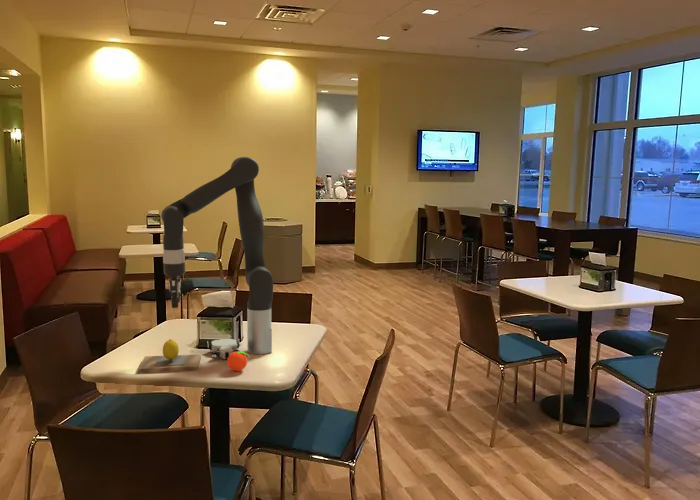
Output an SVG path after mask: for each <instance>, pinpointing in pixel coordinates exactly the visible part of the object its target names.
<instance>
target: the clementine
mask: <svg viewBox="0 0 700 500" xmlns="http://www.w3.org/2000/svg"><path fill="white" fill-rule="evenodd" d="M246 355H247V356H248V358H249V359H251V358H250V356H249V354H248V353H246V352H245V351H241V350H239V351H235V352H233V353H231V354H230V355H229V357H228V359H227V361H226V363H227V367H228V368H229V369H230V370H232V371H233V372H241V371H243V370H244V369H245V368H246V367H247V365H248V358H247V356H246Z"/></svg>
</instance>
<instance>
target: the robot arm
mask: <svg viewBox="0 0 700 500" xmlns="http://www.w3.org/2000/svg"><path fill="white" fill-rule="evenodd" d="M259 171H260V167H259V164H258V162H257V161H256V160H255V159H253V158H252V157H249V156H241V157H237V158H235V159H234V160H233V161H232V163H231V165H230V169H228V170H227V171H226V172H224V173H223V174H221V175H220V176H218V177H216V178H214V179H213V180H210V181H208V182H206V183H205V184H203V185H201V186H199V187H197V188H196V189H194V190H191V192H189V193H188V194H186V195H185V196H184V197H182V198H180V199H178V200H176V201H174V202H172V203H170V204H169V205H167V206H166V207H164V209H162V211H161V215H160V217H161V220H162V222H163V233H164V234H163V238H162V243H163V244H162V245H163V253H162V263H163V265H162V266H163V275H165V276H170V278H169V279H168V285H169V290H168V291H169V297H170V299H171V301H170V302H171V308H173V309H178V308H179V303H180V302H181V298H180V297H181V296H180V292H181V288H182V286H181V285H182V284H181V283H182V278H180V276H183V275H185V274H186V256H185V248H184V247H185V246H184V219H185V218H187V217H188V216H190V215H192V214H195V213H197V212H200V211H201V210H202V209H203V208H205V207H207V206H208V205H210V204H211V203H213V202H214V201H216V200H217V199H219V198H221V197H222V196H223V195H225V194H226V193H228V192H230V191H231V190H233V189H234V190H235V195H236V207H237V219H238V227H239V234H240V239H241V244H242V249H243V254H244V265H245V266H244V267H245V270H244V271H245V273H244V276H245V281H246V284H247V285H248V286H249V288H248V301H247V303H246V304H247V305H246V307H247V311H246V313H247V320H246V322H247V329H246V330H247V346H246V347H247V353H249V354H252V355H265V354H269V353H273V351H272V350H273V344H272V343H273V339H272V338H273V337H272V336H273V333H272V330H273V329H272V303H273V299H274V278H273V274H272V272H271V271H270V270H269V269H267V267H266V261H265V258H264V256H265V255H264V243H265V224H264V216H263V212H262V209H261V206H260V204H259V201H258V198H257V195H256V190H255V179H256V178H257V177H258V175H259Z"/></svg>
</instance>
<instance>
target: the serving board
mask: <svg viewBox="0 0 700 500" xmlns="http://www.w3.org/2000/svg"><path fill="white" fill-rule="evenodd" d="M201 355H202V354H201V353H200V354H198V353H195V354H178V355H177V357H176V358H174V359H173V360H172V361H170V360H169V359H166V358H165V357H164V355H150V356H149V355H148V356H147V355H145V356H144V357H143V359H142V362H141V364H140V366H139V368H138V373H139V374H147V373H149V374H151V373H169V372H171V373H172V372H175V371H176V372H195V371H199V369H200V364H201V359H202V356H201Z"/></svg>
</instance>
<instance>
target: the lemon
mask: <svg viewBox="0 0 700 500" xmlns="http://www.w3.org/2000/svg"><path fill="white" fill-rule="evenodd" d="M179 350H180V349H179V345H178V342H177V341H175V340H174V339H171V338H170V339H168V340H166V341H165V342H164V343H163V345H162V356H164V357H165V358H166V359H169V360H170V361H172V360H173V359H174V358H176V357H177V355H179Z"/></svg>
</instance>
